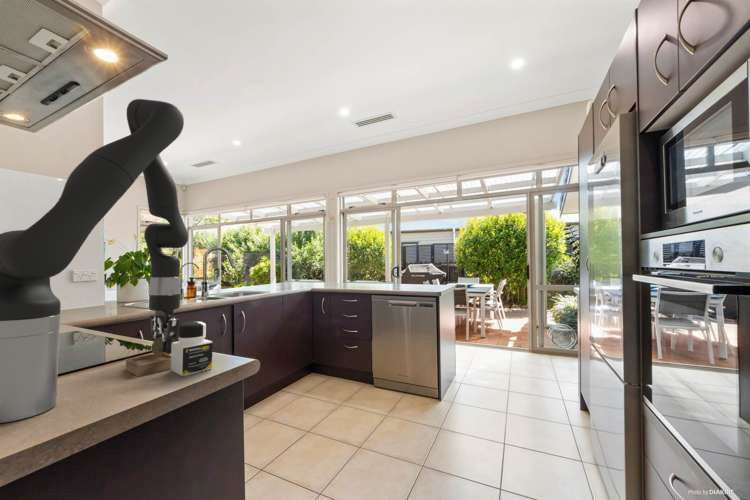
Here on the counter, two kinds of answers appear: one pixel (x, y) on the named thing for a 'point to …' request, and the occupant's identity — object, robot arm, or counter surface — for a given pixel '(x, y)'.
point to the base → (148, 364)
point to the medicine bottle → (191, 350)
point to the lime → (157, 345)
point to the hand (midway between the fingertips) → (163, 352)
